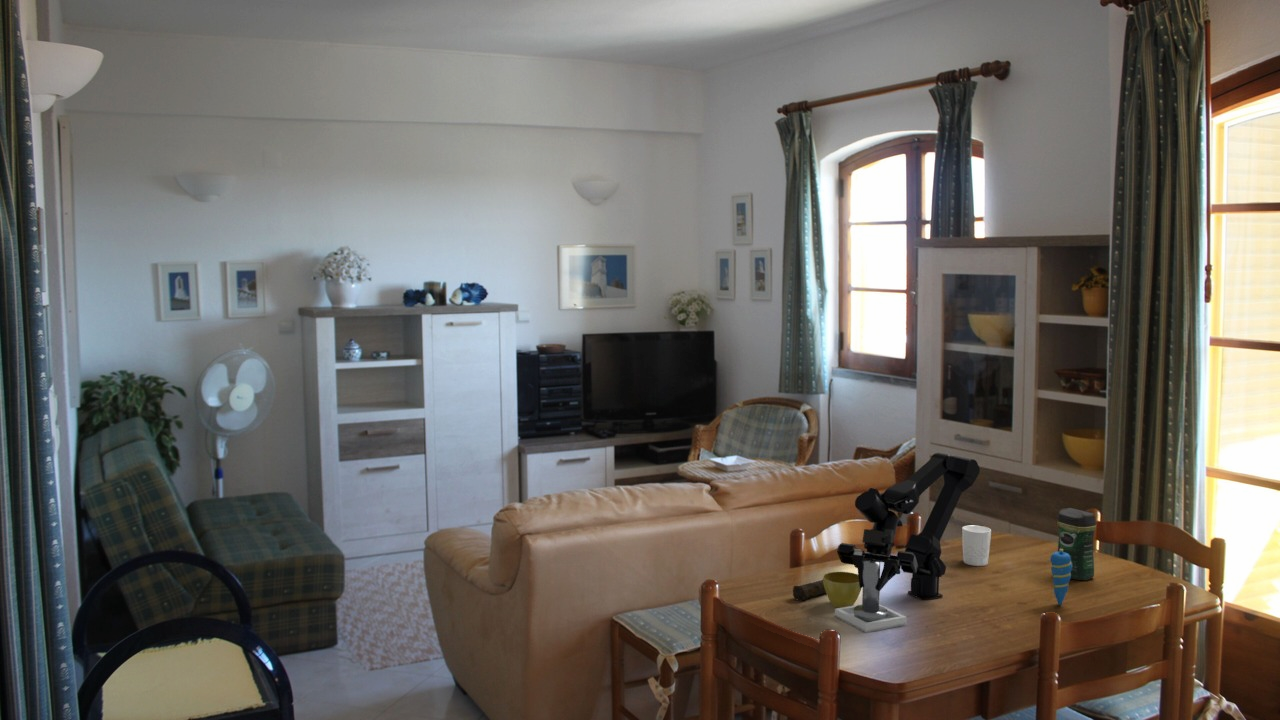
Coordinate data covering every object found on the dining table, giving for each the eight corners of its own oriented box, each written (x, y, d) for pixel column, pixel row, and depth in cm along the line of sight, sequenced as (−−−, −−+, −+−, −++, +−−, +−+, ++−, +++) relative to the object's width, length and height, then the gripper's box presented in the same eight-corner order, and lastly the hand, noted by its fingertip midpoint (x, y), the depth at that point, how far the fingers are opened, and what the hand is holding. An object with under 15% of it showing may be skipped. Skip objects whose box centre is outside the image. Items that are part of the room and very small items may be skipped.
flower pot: (819, 598, 266) (819, 570, 265) (858, 598, 266) (859, 571, 265) (825, 611, 256) (825, 583, 255) (866, 611, 256) (866, 583, 255)
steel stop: (873, 608, 254) (874, 554, 253) (894, 618, 247) (895, 563, 246) (846, 613, 251) (847, 559, 250) (867, 623, 244) (868, 568, 242)
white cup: (959, 558, 302) (960, 524, 301) (987, 559, 301) (988, 525, 300) (963, 566, 294) (964, 531, 293) (992, 567, 293) (993, 532, 292)
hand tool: (802, 603, 262) (803, 585, 262) (791, 598, 266) (792, 581, 265) (855, 590, 273) (856, 573, 272) (844, 586, 276) (845, 569, 276)
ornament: (1060, 609, 258) (1063, 550, 256) (1043, 603, 262) (1046, 545, 261) (1074, 606, 260) (1077, 548, 259) (1058, 600, 265) (1060, 543, 263)
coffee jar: (1099, 578, 283) (1102, 512, 281) (1079, 582, 279) (1082, 515, 278) (1069, 569, 292) (1072, 504, 290) (1050, 573, 288) (1052, 507, 286)
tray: (874, 609, 257) (874, 602, 257) (906, 625, 246) (906, 617, 246) (834, 616, 252) (834, 608, 252) (865, 632, 241) (865, 624, 241)
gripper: (839, 510, 255) (824, 566, 246) (916, 520, 246) (902, 578, 237) (849, 534, 262) (834, 589, 254) (923, 544, 253) (910, 601, 245)
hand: (869, 588), depth 247 cm, fingers closed on steel stop, 4 cm apart
